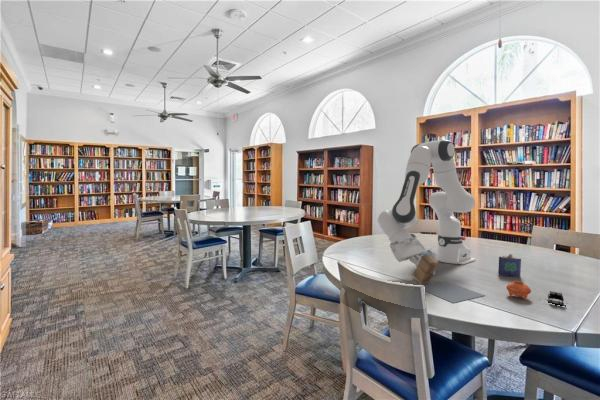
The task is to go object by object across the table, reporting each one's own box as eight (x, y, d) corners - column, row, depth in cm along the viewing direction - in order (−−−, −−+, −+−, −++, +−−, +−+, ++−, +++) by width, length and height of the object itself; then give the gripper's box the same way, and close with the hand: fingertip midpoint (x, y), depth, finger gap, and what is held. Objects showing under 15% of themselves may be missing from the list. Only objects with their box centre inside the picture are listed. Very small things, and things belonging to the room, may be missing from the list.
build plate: (534, 303, 115) (535, 292, 115) (534, 298, 121) (534, 286, 120) (578, 312, 108) (579, 300, 107) (576, 306, 113) (577, 294, 113)
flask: (519, 275, 146) (520, 253, 146) (521, 277, 144) (523, 255, 143) (497, 273, 149) (498, 252, 148) (499, 275, 146) (500, 253, 145)
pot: (536, 298, 118) (535, 282, 117) (521, 305, 116) (520, 289, 115) (516, 290, 125) (515, 275, 124) (502, 297, 123) (500, 281, 122)
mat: (446, 281, 138) (446, 281, 138) (485, 295, 121) (485, 295, 121) (416, 287, 130) (416, 286, 130) (453, 303, 114) (453, 302, 114)
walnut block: (420, 274, 140) (430, 254, 135) (428, 282, 136) (438, 261, 131) (412, 276, 138) (422, 255, 133) (420, 284, 134) (430, 263, 129)
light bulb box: (435, 275, 147) (436, 253, 146) (420, 274, 148) (421, 252, 147) (430, 268, 157) (431, 248, 156) (416, 268, 158) (417, 247, 158)
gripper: (392, 239, 136) (411, 265, 129) (417, 234, 149) (435, 257, 142) (383, 247, 140) (402, 273, 133) (408, 241, 152) (426, 265, 146)
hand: (419, 265), depth 137 cm, fingers closed
